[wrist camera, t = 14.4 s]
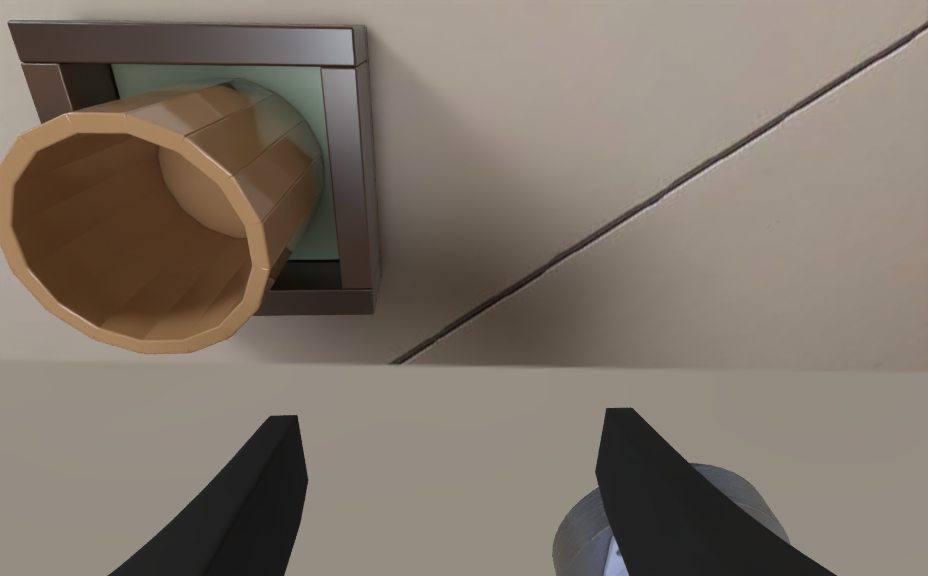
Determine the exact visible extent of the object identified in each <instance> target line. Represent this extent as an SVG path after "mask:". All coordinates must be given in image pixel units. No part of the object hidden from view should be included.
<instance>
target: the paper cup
mask: <svg viewBox="0 0 928 576" xmlns="http://www.w3.org/2000/svg"><path fill="white" fill-rule="evenodd" d="M324 184H325V166H324V160H323V155H322V152H321V149H320V145H319V143H318V141H317V139H316V137H315V134H314V133H313V131H312V129H311V128H310V126H309V124H308V123H307V122H306V120H305V119H304V118H303V117H302V115H301V114H300V113H299V112H298V111H297V110H296V109H295V108H294V107H293V106H292V105H291V104H290V103H289V102H287V101H286V100H285V99H284V98H282V97H281V96H279V95H278V94H276V93H275V92H273V91H272V90H270V89H267V88H265V87H263V86H261V85H259V84H256V83H253V82H250V81H247V80H242V79H238V78H228V77H219V78H201V79H197V80H193V81H189V82H185V83H181V84H177V85H173V86H169V87H166V88H162V89H158V90H154V91H150V92H146V93H142V94H138V95H134V96H130V97H126V98H123V99H119V100H115V101H111V102H107V103H103V104H99V105H95V106H91V107H87V108H83V109H80V110H76V111H72V112H68V113H64V114H62V115H60V116H58V117H56V118H54V119H52V120H49V121H47V122H45V123H43V124H41V125H39V126H37V127H34V128H32V129H30V130H28V131H26V132H24V133H22V134H21V135H20V136H18V138H17V139H16V141H15V142H14V144H13V145H12V147H11V148H10V150H9V151H8V153H7V154H6V156H5V157H4V159H3V160H2V162H1V163H0V246H1V248H2V251H3V253H4V255H5V258H6V260H7V263H8V265H9V267H10V269H11V270H12V272H13V274H14V275H15V276H16V277H17V278H18V279H19V280H20V282H21V283H22V284H23V285H24V286H25V287H26V288H27V289H28V290H29V292H30V293H31V294H32V295H33V296H34V297H35V298H36V299H37V300H38V301H39V303H40V304H41V305H42V306H43V307H44V308H45V309H46V310H49V313H51V314H53V315H54V316H56V317H57V318H59V319H61V320H62V321H64V322H65V323H67V324H69V325H70V326H72V327H74V328H75V329H77V330H78V331H80V332H82V333H83V334H85V335H87V336H88V337H90V338H91V339H94V340H96V341H99V342H103V343H106V344H110V345H113V346H117V347H120V348H124V349H127V350H131V351H134V352H138V353H144V354H177V353H192V352H195V351H197V350H200V349H203V348H205V347H208V346H210V345H213V344H216V343H218V342H221V341H223V340H226V339H228V338H230V337H232V336H233V335H234V334H235V333H236V332H237V331H238V330H239V329H240V328H241V327H242V326H243V325H244V324H245V323H246V322H247V320H248V319H249V318H250V317H251V316H252V315H253V314H254V313H255V312H256V311H257V310H258V309H259V307H260V305H261V304H262V302H263V300H264V299H265V297H266V295H267V294H268V292H269V290H270V289H271V287H272V285H273V284H274V282H275V281H276V279H277V277H278V276H279V274H280V272H281V271H282V269H283V267H284V266H285V264H286V262H287V261H288V259H289V257H290V256H291V254H292V252H293V251H294V249H295V247H296V246H297V244H298V242H299V241H300V239H301V237H302V236H303V234H304V232H305V231H306V229H307V227H308V226H309V224H310V222H311V221H312V219H313V217H314V216H315V214H316V211H317V208H318V206H319V203H320V201H321V198H322V195H323V191H324Z"/></svg>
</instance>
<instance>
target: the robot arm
mask: <svg viewBox="0 0 928 576" xmlns="http://www.w3.org/2000/svg"><path fill="white" fill-rule="evenodd" d="M595 473H596V477H597V481H598V485H599V490H600V494H601V498H602V502H603V505H604V509H605V513H606V516H607V519H608V521H609V524H610V527H611V529H612V532H613V535H614V536H613V537H612V538H611V541H610V546H609V551H608V555H607V560H606V564H605V569H604V574H603V576H837V575H835V574H834V573H832V572H830V571H829V570H827V569H826V568H824V567H823V566H821V565H820V564H818V563H817V562H815V561H813V560H812V559H810V558H809V557H807V556H806V555H804V554H803V553H801V552H800V551H798V550H797V549H795V548H794V547H793V546H791V545H790V544H788V543H787V542H785V541H784V540H783V539H781V538H780V537H779V536H777V535H776V534H775V533H773V532H772V531H770V530H769V529H768V528H766V527H765V526H764V525H762V524H761V523H760V522H758V521H757V520H756V519H754V518H753V517H752V516H750V515H749V514H748V513H747V512H745V511H744V510H743V509H742V508H740V507H739V506H738V505H737V504H735V503H734V502H733V501H732V500H731V499H729V498H728V497H727V496H726V495H725V494H723V493H722V492H721V491H720V490H719V489H717V488H716V487H715V486H714V485H713V484H712V483H711V482H709V481H708V480H707V479H706V478H705V477H704V476H703V475H702V474H700V473H699V472H698V471H697V470H696V469H695V468H694V467H693V466H692V465H691V464H690V463H688V462H687V461H686V460H685V459H684V458H683V457H682V456H681V455H680V454H679V453H678V452H677V451H676V450H675V449H674V448H673V447H671V446H670V445H669V444H668V443H667V442H666V441H665V440H664V439H663V438H662V437H661V436H660V435H659V434H658V433H657V432H656V431H655V430H654V429H653V428H652V427H651V426H650V425H649V424H648V423H647V422H646V421H645V420H644V419H643V418H642V417H641V416H640V415H639V414H638V413H637V412H636V411H635V410H634V409H633V408H607V409H606V413H605V420H604V425H603V431H602V436H601V442H600V448H599V454H598V459H597V466H596V471H595ZM307 484H308V476H307V470H306V464H305V458H304V452H303V446H302V440H301V435H300V429H299V422H298V416H297V415H283V416H270V417H269V418H268V419H267V420H266V421H265V422H264V423H263V424H262V425H261V426H260V427H259V429H258V430H257V431H256V432H255V433H254V434H253V436H252V437H251V438H250V439H249V440H248V441H247V442H246V443H245V445H244V446H243V447H242V448H241V449H240V450H239V451H238V453H237V454H236V455H235V456H234V457H233V458H232V460H230V461H229V463H228V464H227V465H226V466H225V467H224V468H223V469H222V470H221V471H220V472H219V473H218V474H217V475H216V477H215V478H214V479H213V480H212V481H211V482H210V483H209V484H208V485H207V486H206V487H205V488H204V489H203V490H202V491H201V492H200V493H199V495H197V496H196V497H195V498H194V499H193V500H192V501H191V502H190V503H189V504H188V505H187V506H186V507H185V508H184V509H183V510H182V511H181V512H180V513H179V514H178V515H177V516H176V517H175V518H174V519H173V520H172V521H171V522H170V523H169V524H168V525H167V526H166V527H164V528H163V529H162V530H161V531H160V532H159V533H158V534H157V535H156V536H155V537H153V538H152V539H151V540H150V541H149V542H148V543H147V544H145V545H144V546H143V547H142V548H141V549H140V550H139V551H137V552H136V553H135V554H134V555H133V556H131V557H130V559H128V560H127V561H126V562H124V563H123V564H122V565H121V566H120V567H118V568H117V569H116V570H114V571H113V572H112V573H111V574H109V575H108V576H284V574H285V571H286V568H287V565H288V562H289V558H290V555H291V552H292V548H293V545H294V542H295V539H296V536H297V532H298V529H299V526H300V522H301V517H302V511H303V506H304V501H305V496H306V489H307Z"/></svg>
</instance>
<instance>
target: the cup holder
mask: <svg viewBox="0 0 928 576" xmlns="http://www.w3.org/2000/svg"><path fill="white" fill-rule="evenodd" d="M8 26H9V29H10V32H11V35H12V38H13V41H14V44H15V47H16V50H17V53H18V56H19V59H20V61H21V62H24V63H22V64H21V66H22V69H23V72H24V75H25V78H26V81H27V84H28V87H29V90H30V92H31V95H32V98H33V101H34V104H35V107H36V110H37V113H38V116H39V119H40V122H41V124H43V123H45V122H47V121H49V120H52V119H54V118H56V117H58V116H60V115H62V114H64V113H68V112H72V111H76V110H80V109H83V108H87V107H91V106H95V105H99V104H103V103H107V102H111V101H115V100H119V99H123V98H126V97H130V96H134V95H138V94H142V93H146V92H150V91H154V90H158V89H162V88H166V87H169V86H173V85H177V84H181V83H185V82H189V81H193V80H197V79H201V78H219V77H228V78H238V79H242V80H247V81H250V82H253V83H256V84H259V85H261V86H263V87H265V88H267V89H270V90H272V91H273V92H275V93H276V94H278V95H279V96H281V97H282V98H284V99H285V100H286V101H287V102H289V103H290V104H291V105H292V106H293V107H294V108H295V109H296V110H297V111H298V112H299V113H300V114H301V115H302V117H303V118H304V119H305V120H306V122H307V123H308V124H309V126H310V128H311V129H312V131H313V133H314V134H315V137H316V139H317V141H318V143H319V145H320V149H321V152H322V155H323V160H324V166H325V184H324V191H323V195H322V198H321V201H320V203H319V206H318V208H317V211H316V214H315V216H314V217H313V219H312V221H311V222H310V224H309V226H308V227H307V229H306V231H305V232H304V234H303V236H302V237H301V239H300V241H299V242H298V244H297V246H296V247H295V249H294V251H293V252H292V254H291V256H290V257H289V259H288V261H287V262H286V264H285V266H284V267H283V269H282V271H281V272H280V274H279V276H278V277H277V279H276V281H275V282H274V284H273V285H272V287H271V289H270V290H269V292H268V294H267V295H266V297H265V299H264V300H263V302H262V304H261V305H260V307H259V309H258V310H257V311H256V312H255V313H254V314H253V315H252V316H281V315H368V314H374V311H375V306H376V301H377V296H378V291H379V286H380V281H381V277H382V274H381V258H380V241H379V225H378V209H377V192H376V176H375V160H374V143H373V127H372V111H371V94H370V78H369V62H368V45H367V29H366V26H365V25H314V24H260V23H205V22H151V21H96V20H10V21H8Z"/></svg>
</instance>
